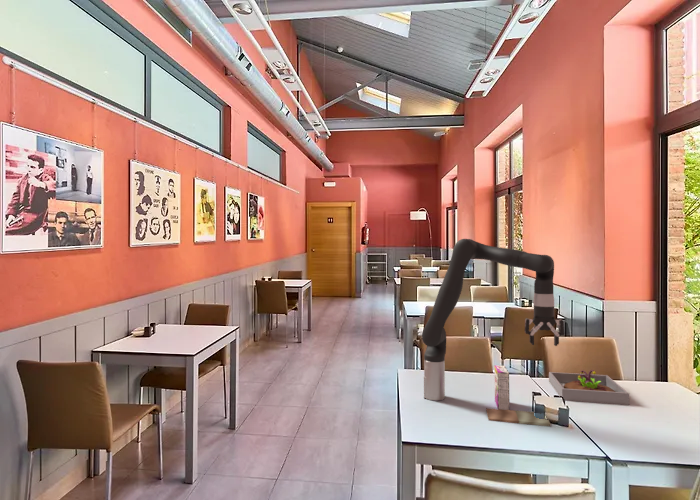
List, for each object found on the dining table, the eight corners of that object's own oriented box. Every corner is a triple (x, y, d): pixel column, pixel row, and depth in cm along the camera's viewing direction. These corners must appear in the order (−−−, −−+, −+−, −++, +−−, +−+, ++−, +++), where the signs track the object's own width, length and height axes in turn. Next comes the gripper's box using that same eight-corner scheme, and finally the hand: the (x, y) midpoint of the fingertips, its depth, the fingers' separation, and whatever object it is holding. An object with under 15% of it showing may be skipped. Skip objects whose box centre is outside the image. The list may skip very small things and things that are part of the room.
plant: (591, 402, 190) (591, 377, 190) (556, 388, 208) (556, 366, 208) (623, 396, 197) (623, 372, 196) (587, 384, 215) (587, 362, 215)
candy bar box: (494, 401, 191) (493, 364, 191) (505, 401, 190) (505, 365, 190) (497, 410, 180) (497, 372, 180) (509, 411, 179) (509, 372, 179)
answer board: (488, 420, 169) (488, 416, 169) (486, 410, 180) (486, 406, 180) (550, 426, 164) (550, 421, 164) (544, 415, 174) (544, 410, 174)
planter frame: (562, 400, 192) (562, 389, 192) (548, 381, 218) (548, 371, 218) (629, 404, 185) (629, 393, 185) (607, 385, 211) (607, 375, 211)
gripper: (526, 305, 167) (526, 346, 167) (565, 306, 164) (566, 348, 164) (523, 303, 174) (523, 342, 174) (560, 303, 171) (561, 343, 171)
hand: (544, 345), depth 169 cm, fingers open, 8 cm apart
